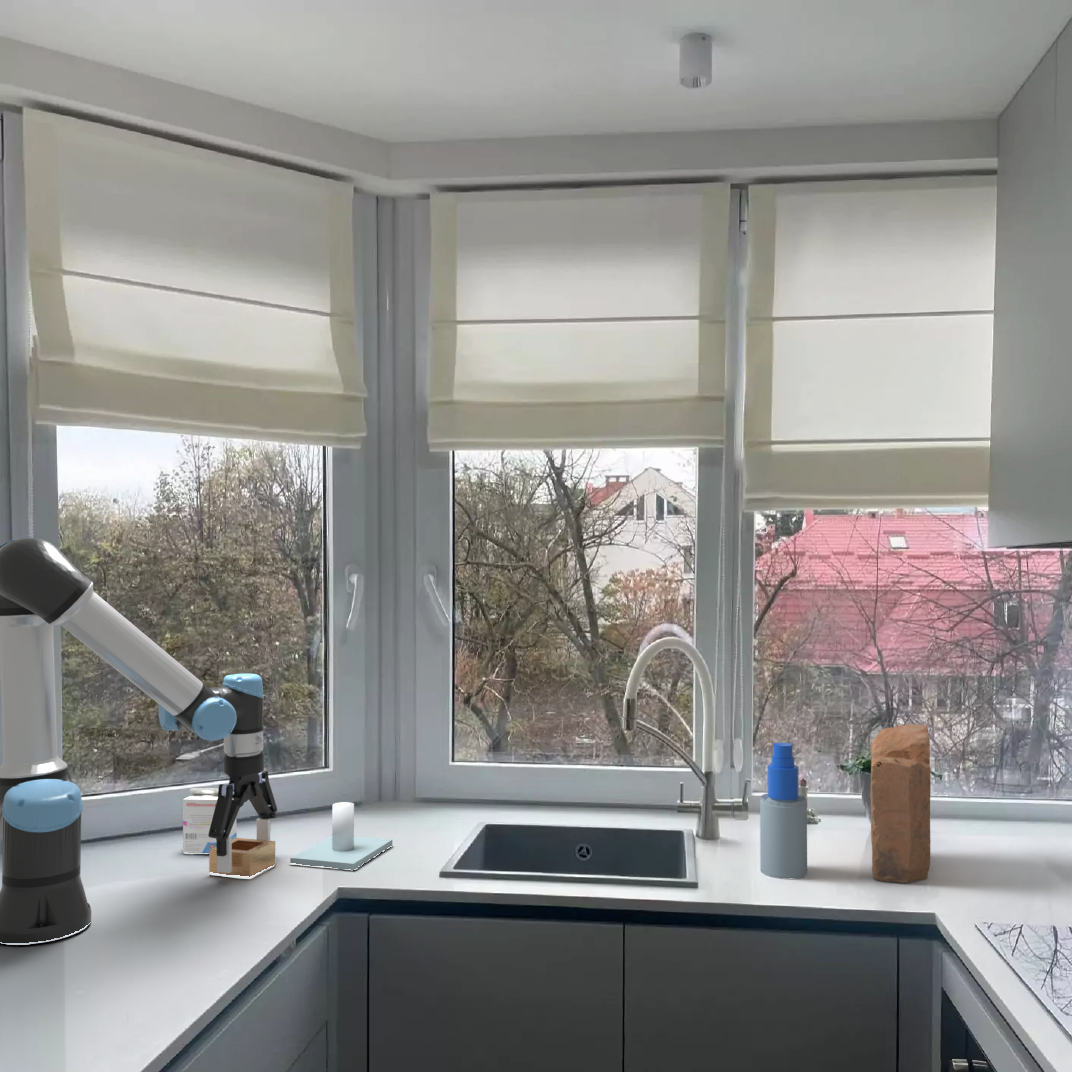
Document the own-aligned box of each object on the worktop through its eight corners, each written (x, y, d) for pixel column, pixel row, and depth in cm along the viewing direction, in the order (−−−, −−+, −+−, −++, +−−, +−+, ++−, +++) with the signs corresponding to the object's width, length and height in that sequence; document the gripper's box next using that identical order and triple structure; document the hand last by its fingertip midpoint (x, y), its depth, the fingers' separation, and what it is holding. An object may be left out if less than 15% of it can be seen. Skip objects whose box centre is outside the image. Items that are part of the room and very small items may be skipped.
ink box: (237, 844, 214) (238, 782, 214) (221, 856, 205) (222, 790, 206) (199, 843, 214) (199, 781, 215) (181, 855, 206) (182, 790, 207)
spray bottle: (805, 866, 198) (804, 740, 199) (808, 880, 190) (807, 748, 190) (760, 863, 200) (759, 739, 201) (761, 877, 191) (760, 747, 192)
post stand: (353, 871, 195) (353, 817, 195) (290, 865, 199) (290, 812, 199) (392, 846, 212) (392, 797, 212) (333, 841, 216) (333, 792, 216)
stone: (935, 888, 184) (933, 735, 186) (871, 882, 188) (869, 732, 190) (928, 860, 205) (926, 722, 207) (870, 855, 208) (869, 720, 210)
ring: (249, 880, 190) (250, 853, 190) (209, 875, 192) (209, 849, 192) (275, 866, 198) (275, 841, 198) (235, 862, 201) (236, 837, 201)
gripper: (223, 767, 183) (224, 883, 182) (293, 742, 207) (294, 844, 206) (188, 765, 185) (189, 879, 184) (261, 740, 209) (262, 842, 208)
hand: (244, 861), depth 195 cm, fingers open, 13 cm apart
